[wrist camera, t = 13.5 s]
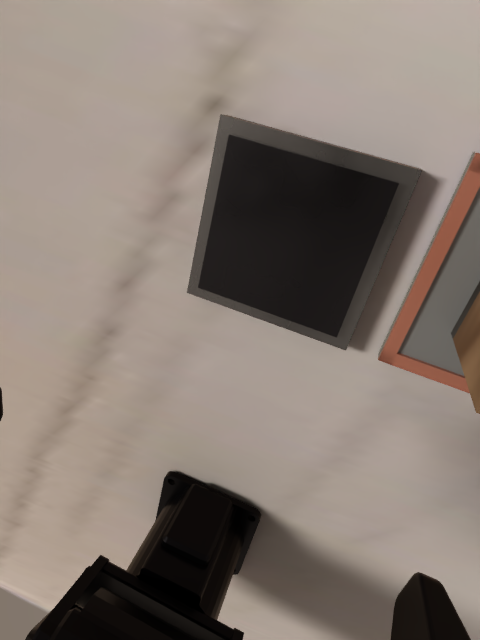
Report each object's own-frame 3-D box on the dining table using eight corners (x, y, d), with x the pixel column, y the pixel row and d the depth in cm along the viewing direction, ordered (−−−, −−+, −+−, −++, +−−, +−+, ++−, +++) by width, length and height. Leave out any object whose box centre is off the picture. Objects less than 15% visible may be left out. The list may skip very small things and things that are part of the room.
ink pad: (347, 342, 20) (345, 353, 19) (193, 287, 21) (184, 294, 20) (420, 168, 16) (422, 171, 15) (227, 115, 17) (217, 114, 16)
